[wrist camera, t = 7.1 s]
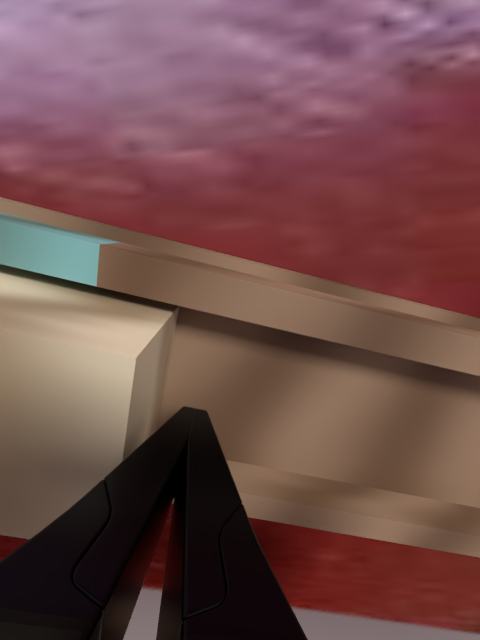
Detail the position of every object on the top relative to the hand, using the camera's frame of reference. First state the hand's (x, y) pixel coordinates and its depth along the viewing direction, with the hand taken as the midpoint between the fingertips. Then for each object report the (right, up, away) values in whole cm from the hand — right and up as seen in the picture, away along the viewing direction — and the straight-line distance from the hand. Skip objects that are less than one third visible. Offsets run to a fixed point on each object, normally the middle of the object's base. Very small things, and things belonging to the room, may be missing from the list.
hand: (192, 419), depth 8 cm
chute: (+2, 0, +3) cm, 4 cm away
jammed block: (-4, +2, +2) cm, 5 cm away
